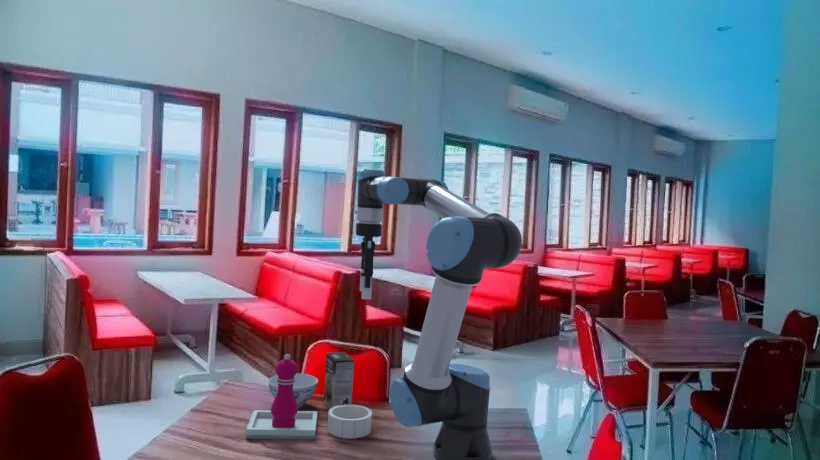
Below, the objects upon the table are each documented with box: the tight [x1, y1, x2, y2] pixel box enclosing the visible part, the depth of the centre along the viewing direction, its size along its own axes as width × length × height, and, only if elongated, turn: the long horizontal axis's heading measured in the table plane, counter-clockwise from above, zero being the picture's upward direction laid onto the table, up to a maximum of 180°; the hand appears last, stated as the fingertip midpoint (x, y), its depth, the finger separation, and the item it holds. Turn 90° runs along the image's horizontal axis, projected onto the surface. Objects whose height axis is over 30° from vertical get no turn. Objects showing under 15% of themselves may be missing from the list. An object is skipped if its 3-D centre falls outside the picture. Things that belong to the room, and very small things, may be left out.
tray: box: [245, 409, 318, 440], centre depth 167 cm, size 18×14×2 cm
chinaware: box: [267, 372, 319, 409], centre depth 186 cm, size 15×15×8 cm
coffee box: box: [323, 351, 355, 410], centre depth 186 cm, size 9×6×16 cm
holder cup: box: [327, 404, 373, 439], centre depth 169 cm, size 12×12×5 cm
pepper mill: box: [270, 353, 299, 428], centre depth 166 cm, size 7×7×20 cm
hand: (365, 295), depth 177 cm, fingers open, 13 cm apart
